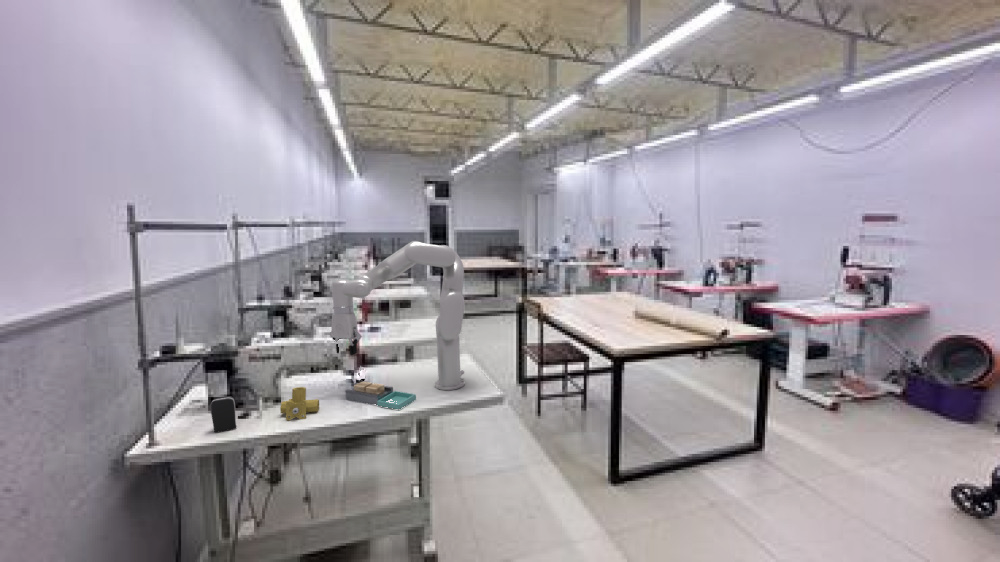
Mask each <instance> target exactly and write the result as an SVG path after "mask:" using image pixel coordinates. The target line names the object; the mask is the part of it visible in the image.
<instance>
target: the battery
mask: <svg viewBox="0 0 1000 562" xmlns="http://www.w3.org/2000/svg"><path fill="white" fill-rule="evenodd" d="M236 414H237V413H236V402H235V398H234V397H233V396H231V395H229V396H221V397H216V398H214V399H213V400H212V401H211V403H210V415H211V418H212V426H213V433H221V431H222V432H226V430H227V431H230V430H231V429H232V430H235V428H236V429H237V419H236ZM232 430H231V431H232Z"/></svg>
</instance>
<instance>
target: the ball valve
mask: <svg viewBox="0 0 1000 562" xmlns="http://www.w3.org/2000/svg"><path fill="white" fill-rule="evenodd" d="M291 392H292V393H291V398H290V399H288V400H285V401H284V400H282V401H281V403H280V408H279V410H280V414H285V420H286V421H291V420H292V419H295V418H297V419H300V420H306V419H307V413H318V412H319V411H320V410H319V409H320V399H319V398H316V399H315V398H314V399H307V387H305V386H297V387H293V388H292V391H291Z"/></svg>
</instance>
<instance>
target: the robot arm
mask: <svg viewBox="0 0 1000 562" xmlns="http://www.w3.org/2000/svg"><path fill="white" fill-rule="evenodd" d="M415 265H422V266H423V265H424V266H431V267H438V268H442V271H443V272H442V273H443V276H442V285H441V291H440V297H439V302H440V309H439V314H438V316H437V318H436V319H435V320H436V321H435V332H436V333H435V334H436V335H435V336H436V350H437V351H436V353H437V357H436V358H437V374H438V375H437V377H438V378H437V380H436V381H435V383H434V386H435V388H436V389H439V390H441V391H454V390H458V389H460V388H463V386H465V380H464V379H463V378H462V376H463V375H465V371H464V370H461V353H460V352H461V351H460V350H461V349H460V345H461V344H460V335H461V331H462V327H463V322H464V321H463V319H464V313H465V298H464V295H463V287H464V277H465V271H464V269H465V268H464V265H463V261H462V259H461V257H460V255H459V254H458V253H457V252H456V251H455V250H454V249H453V248H452V247H451V246H448V245H445V244H441V245H440V244H439V245H438V244H431V243H426V242H421V241H418V240H412V241H411V242H409V243H407V244H405V245H404V246H402V247H401V248H399V249H398V250H397V251H395V252H393V253H392V254H391V255H389V256H387V257H386V258H385V259H382V261H381V262H379V264H377V265H375V266H374V267H373V268H371V269H370V270H367V272H365V273H364V274H362V275H361V276H359V277H357V278H356V279H354V280H350V279H349V278H348V279H347V278H341V279H334V280H333V281H332V282H331V292H332V304H333V306H332V310H333V313H332V314H331V315H332V316H331V326H330V327H331V328H330V329H331V331H330V332H329V335H330V337H331V339H332V340H333V341H334V340H335V341H336V342H337V341H338V340H339V339H342V340H348V342H349V355H350V356H354V355H356V354H357V353H358V351H357V345H358V343H359V341H360V340H361V338H362V337H363V336H362V334H361V333H360V332H359V330H358V324H357V323H358V322H357V318H356V313H354V312H355V310H354V298H356V299H357V298H358V299H359V298H360V299H362V298H366V297H368V296H369V295H370V294H371V292H372V291H373V290H374V289H377V288H378V287H380V286H381V285H382V284H384V283H386V282H387V281H389V280H392V279H395V278H397V277H399V276H400V275H402V274H403V273H405V272H406V271H408V270H409V269H410V268H412V267H413V266H415ZM335 341H334V342H335ZM335 349H336V350H335V351H336V354H340V353H339V347H338V344H335Z"/></svg>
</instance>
